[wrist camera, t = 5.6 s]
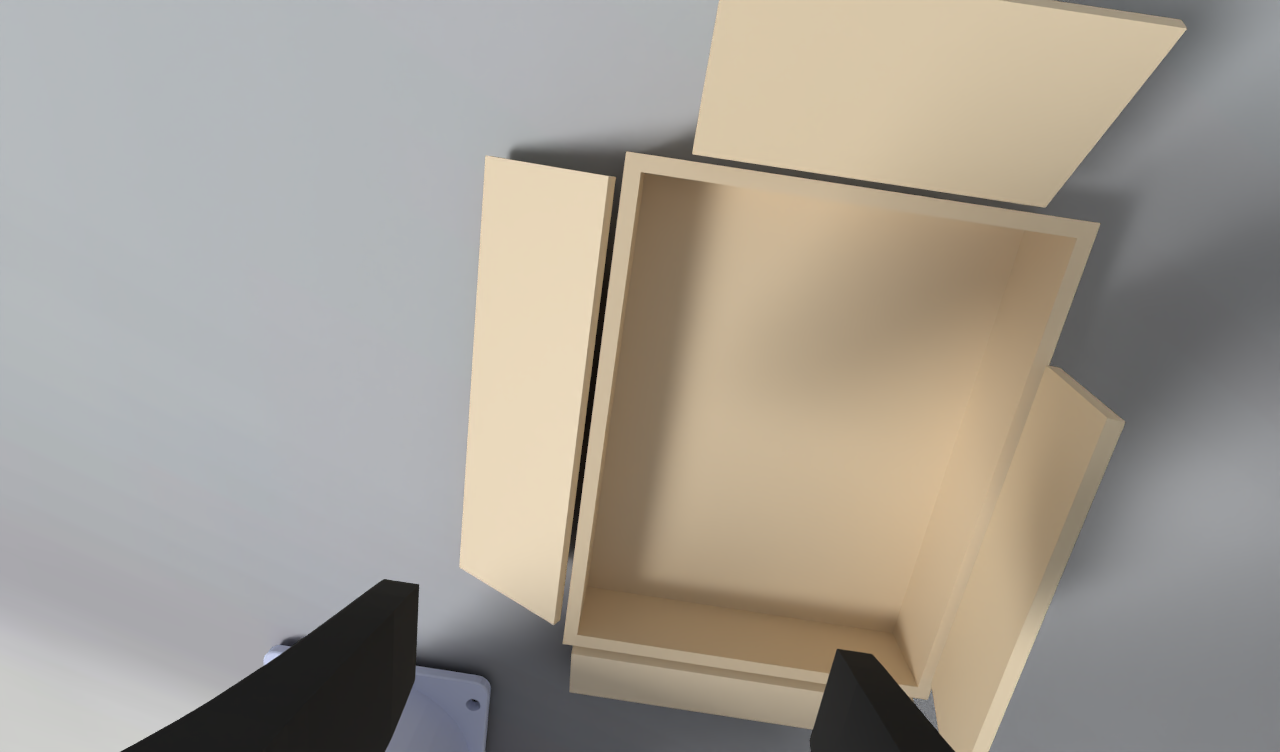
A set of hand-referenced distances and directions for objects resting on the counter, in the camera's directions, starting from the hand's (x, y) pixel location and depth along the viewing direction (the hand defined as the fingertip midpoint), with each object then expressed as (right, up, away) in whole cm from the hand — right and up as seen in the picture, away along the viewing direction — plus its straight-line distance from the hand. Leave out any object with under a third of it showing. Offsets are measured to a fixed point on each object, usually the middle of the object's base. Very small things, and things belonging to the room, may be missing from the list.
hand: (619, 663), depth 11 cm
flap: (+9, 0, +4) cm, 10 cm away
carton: (+3, +2, +9) cm, 10 cm away
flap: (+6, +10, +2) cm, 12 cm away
